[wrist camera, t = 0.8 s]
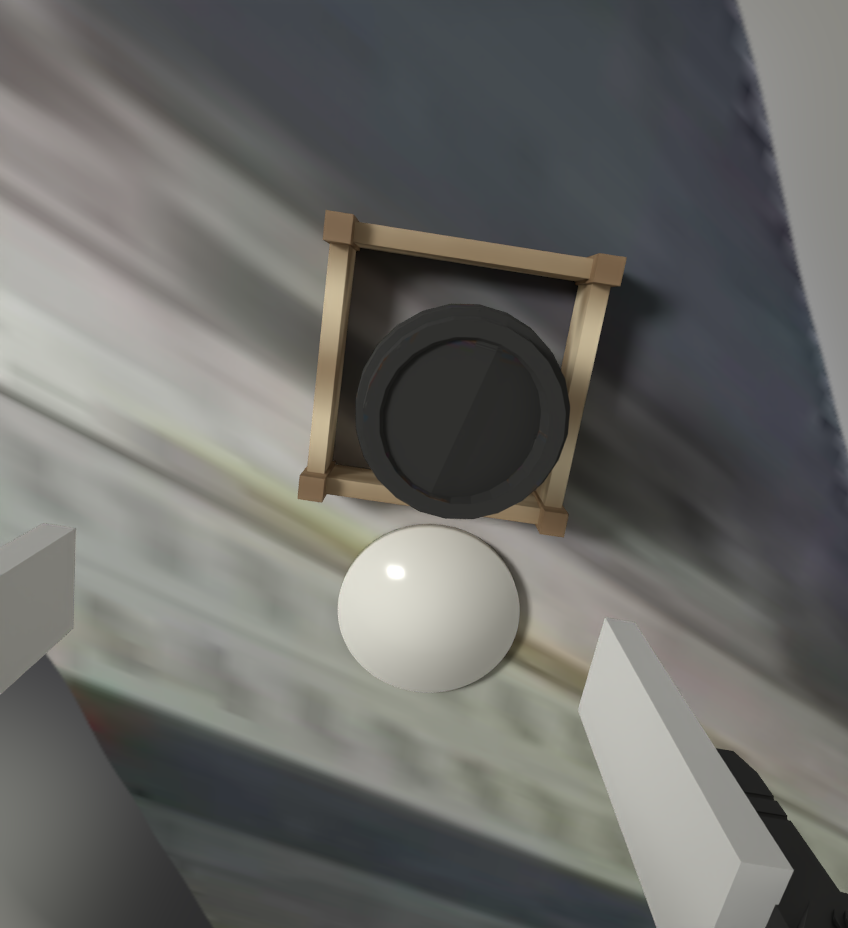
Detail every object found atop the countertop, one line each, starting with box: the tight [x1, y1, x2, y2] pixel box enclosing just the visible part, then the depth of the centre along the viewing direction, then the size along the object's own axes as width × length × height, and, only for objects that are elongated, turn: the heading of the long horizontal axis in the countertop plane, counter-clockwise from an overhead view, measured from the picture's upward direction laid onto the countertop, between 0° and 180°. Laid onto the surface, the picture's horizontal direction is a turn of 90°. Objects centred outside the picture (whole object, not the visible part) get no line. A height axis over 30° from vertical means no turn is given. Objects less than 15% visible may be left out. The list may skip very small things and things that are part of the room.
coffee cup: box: [356, 304, 570, 519], centre depth 28 cm, size 8×8×15 cm
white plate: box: [338, 524, 520, 693], centre depth 39 cm, size 12×12×1 cm
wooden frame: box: [298, 210, 626, 537], centre depth 33 cm, size 15×15×4 cm
